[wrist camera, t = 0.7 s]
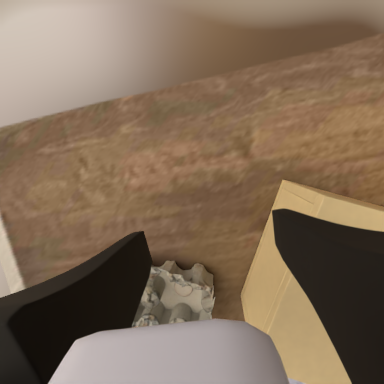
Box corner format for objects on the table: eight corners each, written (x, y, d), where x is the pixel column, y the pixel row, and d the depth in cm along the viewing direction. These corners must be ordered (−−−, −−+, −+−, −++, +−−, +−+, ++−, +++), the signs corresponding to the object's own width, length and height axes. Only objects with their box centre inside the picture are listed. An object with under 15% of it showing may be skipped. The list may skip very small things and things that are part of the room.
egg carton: (218, 264, 23) (219, 287, 19) (209, 319, 25) (208, 352, 21) (129, 249, 24) (112, 269, 20) (125, 304, 25) (109, 332, 21)
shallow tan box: (430, 219, 20) (574, 263, 12) (366, 333, 23) (448, 431, 15) (282, 179, 20) (324, 195, 13) (240, 294, 23) (252, 366, 16)
